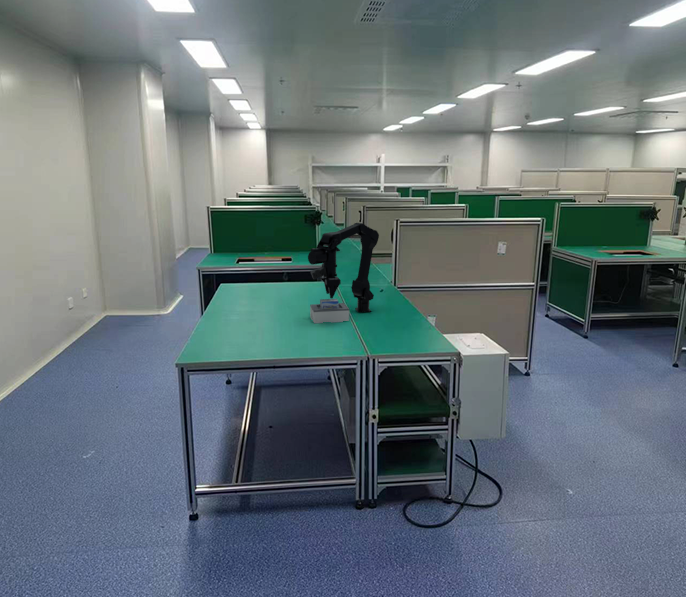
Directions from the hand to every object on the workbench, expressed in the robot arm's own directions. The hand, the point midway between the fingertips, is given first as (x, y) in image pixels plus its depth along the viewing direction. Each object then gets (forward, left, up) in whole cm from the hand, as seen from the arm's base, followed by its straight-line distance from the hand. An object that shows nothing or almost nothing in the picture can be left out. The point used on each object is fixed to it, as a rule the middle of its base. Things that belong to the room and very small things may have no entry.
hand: (329, 295), depth 217 cm
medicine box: (+1, 0, -10) cm, 10 cm away
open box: (0, 0, -11) cm, 11 cm away
